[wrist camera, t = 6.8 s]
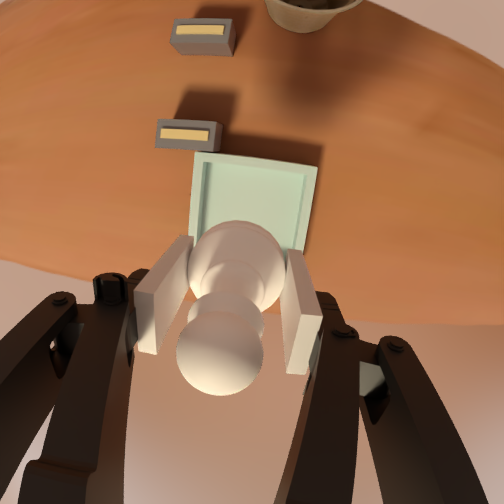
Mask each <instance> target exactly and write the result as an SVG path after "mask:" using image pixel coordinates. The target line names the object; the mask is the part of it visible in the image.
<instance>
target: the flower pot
mask: <svg viewBox="0 0 504 504" xmlns="http://www.w3.org/2000/svg"><path fill="white" fill-rule="evenodd" d="M264 1H265V3H266V6H267V10H268V13H269V15H270V17H271V18H272V19H273V20H274V22H275V23H276V24H278V25H279V26H281V27H282V28H284V29H286V30H289V31H292V32H297V33H309V32H313V31H316V30H319V29H321V28H323V27H324V26H325V25H326V24H327V23H328V22H329V21H330V20H331V19H332V18H333V17H334V16H335V15H336V14H337V13H340V12H343V11H346V10H349V9H351V8H353V7H355V6H356V5H358V4H360V3H361V2H362V1H363V0H264ZM298 5H301V6H302V8H301V7H298Z"/></svg>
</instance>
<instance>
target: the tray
mask: <svg viewBox="0 0 504 504" xmlns="http://www.w3.org/2000/svg"><path fill="white" fill-rule="evenodd" d="M317 169H318V167H315V166H313V165H307V164H301V163H294V162H288V161H281V160H274V159H267V158H259V157H252V156H243V155H234V154H225V153H215V152H204V151H199V152H195V158H194V168H193V179H192V190H191V203H190V217H189V232H188V236H194V247H195V245H196V244H197V242H198V241H199V239H200V238H201V236H202V235H203V234H204V233H205V232H206V231H208V230H209V229H210V228H211V227H213V226H215V225H217V224H220V223H222V222H226V221H232V220H241V221H249V222H251V223H254V224H257V225H260V226H261V227H263V228H264V229H265V230H267V231H268V232H270V233H271V234H272V236H273V237H274V238H275V239H276V240H277V242H278V243H279V246H280V248H281V250H282V252H283V257H284V262H285V260H286V254H287V249H296V250H302V253H303V250H304V244H305V239H306V234H307V228H308V223H309V217H310V211H311V206H312V200H313V194H314V188H315V182H316V175H317ZM194 247H193V248H194Z"/></svg>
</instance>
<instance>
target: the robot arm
mask: <svg viewBox="0 0 504 504" xmlns="http://www.w3.org/2000/svg"><path fill="white" fill-rule="evenodd" d="M193 247H194V236H188V235H180V236H179V237H178V238H177V239H176V240H175V242H174V243H173V244H172V245H171V246H170V247H169V248H168V250H167V251H166V252H165V253H164V254H163V255H162V257H161V258H160V259H159V260H158V261H157V262H156V264H155V265H154V266H153V267H152V268H151V270H148V269H142V268H141V269H139V270H136V271H134V272H132V274H131V275H130V276H129V277H128V278H126V277H125V276H124V275H122V274H120V273H104V274H100V275H98V276H96V277H95V278H94V279H93V287H94V295H95V301H94V303H93V304H77V303H76V297H75V296H74V295H73V294H72V293H69V292H64V291H61V292H56V293H53V294H51V295H49V296H48V297H46V298H45V299H44V300H43V301H42V302H41V303H40V304H38V305H37V306H36V307H35V308H34V309H33V310H32V311H31V312H30V313H29V314H27V315H26V316H25V317H24V318H23V319H22V320H21V321H20V322H19V323H18V324H17V325H16V326H15V327H14V328H13V329H11V331H9V332H8V333H7V334H6V335H5V336H4V337H3V338H2V339H1V340H0V500H1V498H2V496H3V494H4V493H5V491H6V489H7V487H8V485H9V483H10V481H11V479H12V477H13V475H14V474H15V472H16V470H17V468H18V466H19V464H20V462H21V460H22V459H23V457H24V455H25V453H26V452H27V450H28V448H29V446H30V445H31V443H32V441H33V440H34V438H35V436H36V434H37V433H38V431H39V429H40V428H41V426H42V424H43V423H44V421H45V419H46V418H47V416H48V415H49V413H50V411H51V410H52V408H53V407H54V409H53V413H52V416H51V419H50V423H49V427H48V430H47V434H46V438H45V441H44V446H43V450H42V454H41V456H40V458H39V459H38V460H30V461H29V462H28V463H27V465H26V467H25V470H24V473H23V478H22V482H21V487H20V493H19V498H18V504H124V501H123V499H124V495H123V493H124V459H125V441H126V427H127V415H128V406H129V396H130V386H131V379H132V371H133V364H134V348H133V347H134V345H135V343H136V342H137V340H138V349H139V351H141V352H146V353H150V354H155V355H157V353H158V351H159V349H160V347H161V345H162V342H163V340H164V338H165V336H166V334H167V332H168V330H169V327H170V325H171V323H172V321H173V319H174V317H175V315H176V313H177V311H178V309H179V307H180V305H181V302H182V301H183V299H184V297H185V294H186V292H187V290H188V288H189V286H190V284H189V280H188V276H187V268H188V260H189V257H190V254H191V251H192V250H193ZM285 270H286V277H285V283H284V287H283V289H282V291H281V293H280V306H281V317H282V327H283V328H282V329H283V340H284V353H285V365H286V373H288V374H301V375H305V374H306V371H307V368H308V365H309V368H310V375H309V378H308V380H307V383H306V386H305V389H304V392H303V395H304V397H303V401H302V405H301V410H300V414H299V418H298V422H297V425H296V429H295V433H294V437H293V441H292V444H291V448H290V451H289V455H288V458H287V462H286V465H285V469H284V472H283V476H282V479H281V482H280V485H279V488H278V491H277V495H276V498H275V501H274V504H351V503H352V495H353V487H354V478H355V468H356V457H357V456H356V455H357V441H358V425H359V407H360V411H361V414H362V418H363V422H364V425H365V429H366V433H367V437H368V441H369V445H370V448H371V452H372V456H373V460H374V464H375V469H376V473H377V477H378V481H379V486H380V490H381V495H382V499H383V504H489V503H488V501H487V498H486V496H485V493H484V490H483V488H482V486H481V483H480V481H479V478H478V476H477V473H476V471H475V469H474V467H473V464H472V462H471V460H470V457H469V455H468V453H467V451H466V449H465V447H464V444H463V443H462V440H461V438H460V436H459V434H458V432H457V430H456V428H455V426H454V424H453V422H452V420H451V418H450V416H449V414H448V412H447V410H446V408H445V406H444V404H443V402H442V400H441V399H440V397H439V395H438V393H437V391H436V389H435V388H434V386H433V384H432V382H431V380H430V378H429V377H428V375H427V373H426V371H425V370H424V368H423V366H422V364H421V363H420V361H419V359H418V358H417V356H416V354H415V352H414V351H413V349H412V347H411V346H410V345H409V344H408V342H406V341H405V340H403V339H402V338H399V337H397V336H384V337H382V338H381V339H380V341H379V344H378V345H376V344H372V343H368V342H365V341H362V340H360V339H359V334H358V332H357V331H356V330H355V329H354V328H352V327H351V326H349V325H347V324H345V321H344V319H343V316H342V314H341V311H340V309H339V307H338V304H337V302H336V299H335V298H334V297H333V296H332V295H331V294H330V293H328V292H319V291H315V290H314V286H313V283H312V280H311V277H310V274H309V271H308V268H307V265H306V262H305V259H304V256H303V253H302V250H296V249H287V254H286V260H285ZM52 341H54V344H55V345H54V347H53V348H52V349H51V348H50V344H51V342H52ZM54 405H55V406H54Z"/></svg>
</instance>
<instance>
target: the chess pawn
mask: <svg viewBox="0 0 504 504" xmlns="http://www.w3.org/2000/svg"><path fill="white" fill-rule="evenodd" d="M187 276H188V280H189V284H190V287H191V289H192V291H193V292H194V294H195V296H196V297H197V298H198V300H196V301H195V302H194V304H193V305H192V307H191V308H190V311H189V314H188V324H187V325H186V327H185V328H184V329H183V331H182V332H181V334H180V336H179V339H178V343H177V347H176V355H177V363H178V366H179V368H180V371H181V373H182V375H183V376H184V377H185V378H186V380H187V381H188V382H189V383H190V384H191V385H192V386H194V387H195V388H196V389H198V390H200V391H202V392H204V393H207V394H211V395H218V396H220V395H230V394H234V393H237V392H239V391H241V390H243V389H245V388H246V387H247V386H249V385H250V384H251V383H252V382H253V381H254V380H255V378H256V376H257V375H258V373H259V371H260V369H261V366H262V360H263V347H262V343H261V337H262V335H263V331H264V320H263V316H262V314H261V312H262V311H264V310H265V309H267V308H268V307H270V306H271V305H272V304H273V303H274V302H275V301H276V299H277V298H278V297H279V296H280V293H281V291H282V289H283V287H284V283H285V277H286V270H285V262H284V257H283V252H282V250H281V248H280V246H279V243H278V242H277V240H276V239H275V238H274V237H273V236H272V234H271V233H270V232H268V231H267V230H265V229H264V228H263V227H261V226H260V225H257V224H254V223H251V222H249V221H241V220H232V221H226V222H222V223H220V224H217V225H215V226H213V227H211V228H210V229H209V230H208V231H206V232H205V233H204V234H203V235H202V236H201V238H200V239H199V241H198V242H197V244H196V245H195V247H194V248H193V250H192V251H191V254H190V257H189V260H188V268H187Z"/></svg>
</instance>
